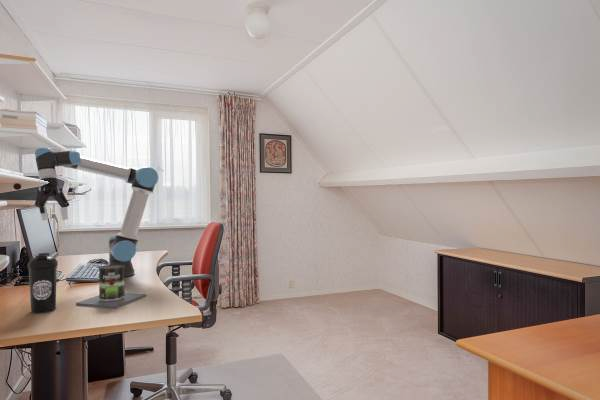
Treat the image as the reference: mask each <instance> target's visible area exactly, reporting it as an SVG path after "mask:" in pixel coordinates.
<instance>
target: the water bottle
mask: <svg viewBox="0 0 600 400" xmlns="http://www.w3.org/2000/svg"><path fill="white" fill-rule="evenodd" d="M58 265H59V264H58V260H57V258H56V257H54V256H51V255H50V252H41V253H38V254H37V255H35V257H33V258H31V259H30V260H28V262H27V269H28V277H29V278H28V279H29V298H30V312H31V314H45V313H49V312H53V311H55V310H56V309H57V271H58V269H57V267H58Z"/></svg>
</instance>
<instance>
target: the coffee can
mask: <svg viewBox="0 0 600 400" xmlns="http://www.w3.org/2000/svg"><path fill="white" fill-rule="evenodd" d="M124 267H125V266H124V265H109V264H106V265H102V266H99V267H98V271H99V272H98V273H99V274H98V277H99V279H98V280H99V282H98V283H99V284H98V285H99V287H98V290H99V291H98V292H99V294H98V295H99V300H101V301H114V300H119V299H122V298H124V297H125V296H124V292H125V277H124Z"/></svg>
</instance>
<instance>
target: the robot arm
mask: <svg viewBox="0 0 600 400" xmlns="http://www.w3.org/2000/svg"><path fill="white" fill-rule="evenodd" d="M34 156H35V163H36V168H37V171H38V172H37V173H38V179H39V180H44V181H48V182H49V183H48V184H46V185H43V186H40V187H39V186H38V187H36V188H37V189H36V190H37V193H36V198H35V201H34V202H35V203H34V206H35V207H36V208H39V213H40V215H41V216H40V217H41V221H48V220H49V215H48V211H47V206H46V203H47V201H48V199H49V198H53V199H54V200H55V201H56V202H57V204H58V205H59V207H60V209H59V210H60V213H61V218H62V219H61V220H62V221H66V220H69V216H68V207H69V206H70V203H69V201H68V199H67V198H66V196H65V193H64V191H63V188H58V185H59V181H58V175H57V169H56V167H64V168H67V169H68V168H70V169H73V170H79V171H83V172H87V173H92V174H96V175H100V176H104V177H107V178H113V179H116V180H122V181H124V182H125V183H127V184H131V189H132V193H131V197H130V199H129V202H128V206H127V209H126V212H125V216H124V219H123V222H122V225H121V228H120V231H119V232H118V233H116V234H115V236H114V235H113V236H110V237H109V238H108V260H109V261H108V265H124V266H125V267H124V278H126V277H132V276H133V275H136V274H135V269H134V266H133V263H132V259H133V258H134V257H135V255H136V253H137V244H138V242H139V238H138V231H139V229H140V225H141V222H142V218H143V215H144V213H145V209H146V205H147V202H148V199H149V195H151V194H153V193H154V190H155V186H156V184H157V183H158V182H159V174H158V172H157V170H156V169H154V168H153V167H151V166H146V165H145V166H142V167H141V166H140V167H133V166H128V167H125V166H121V165H117V164H114V163H110V162H105V161H102V160H101V161H100V160H97V159H92V158H88V157H86V156H85V157H84V156H82V155H81V154H80V152H79V150H73V149H71V150H63V151H62V150H61V151H54V150H53V149H52V148H50V147H39V148H36V149H35V151H34Z"/></svg>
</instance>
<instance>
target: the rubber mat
mask: <svg viewBox="0 0 600 400" xmlns="http://www.w3.org/2000/svg"><path fill="white" fill-rule="evenodd" d="M124 296H125V297H124V298H122V299H119V300H114V301H101V300H99V294H98V295H94V296H93V297H90V298H87V299H83V300H80V301H77V302H75V306H82V307H94V308H103V309H105V308H106V309H117V308H120V307H123V306H125V305H127V304H130V303H132V302H133V303H134V302H136V301H137V300H140V299H142V298H145V297H147V293H137V292H125V291H124Z"/></svg>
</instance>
